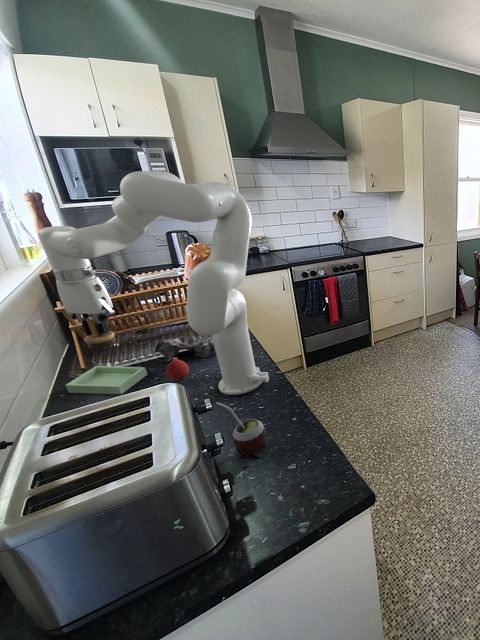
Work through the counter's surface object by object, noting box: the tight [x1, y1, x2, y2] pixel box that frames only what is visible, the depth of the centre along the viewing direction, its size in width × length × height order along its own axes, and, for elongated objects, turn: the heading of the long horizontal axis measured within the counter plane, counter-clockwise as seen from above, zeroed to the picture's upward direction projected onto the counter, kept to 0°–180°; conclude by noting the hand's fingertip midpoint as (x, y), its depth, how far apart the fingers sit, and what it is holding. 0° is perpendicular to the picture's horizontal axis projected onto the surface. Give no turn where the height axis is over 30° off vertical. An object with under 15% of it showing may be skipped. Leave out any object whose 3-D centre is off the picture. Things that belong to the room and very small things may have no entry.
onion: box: [165, 357, 190, 381], centre depth 109 cm, size 6×6×8 cm
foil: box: [154, 335, 214, 363], centre depth 123 cm, size 12×11×15 cm
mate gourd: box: [215, 401, 267, 460], centre depth 82 cm, size 8×8×15 cm
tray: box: [64, 365, 148, 395], centre depth 107 cm, size 16×11×3 cm
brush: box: [84, 316, 117, 350], centre depth 101 cm, size 6×6×8 cm
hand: (98, 333), depth 101 cm, fingers closed on brush, 2 cm apart
